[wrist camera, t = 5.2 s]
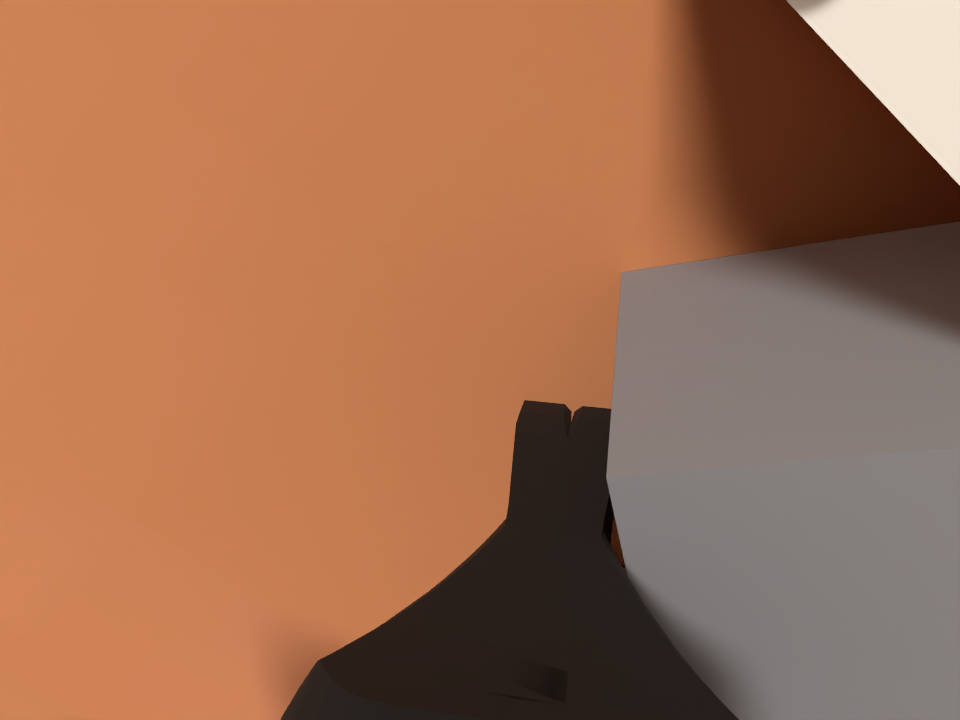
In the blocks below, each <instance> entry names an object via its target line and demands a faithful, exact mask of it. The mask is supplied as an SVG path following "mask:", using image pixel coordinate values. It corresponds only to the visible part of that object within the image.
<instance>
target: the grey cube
mask: <svg viewBox="0 0 960 720" xmlns="http://www.w3.org/2000/svg"><path fill="white" fill-rule="evenodd" d="M606 479H607V483H608V488H609V493H610V497H611V502H612V507H613V511H614V516H615V520H616V525H617V530H618V534H619V539H620V544H621V548H622V553H623V557H624V562H625V567H626V571H627V576H628V579H629V580H630V582H631V583H632V585H633V587H634V588H635V590H636V592H637V593H638V595H639V597H640V598H641V600H642V601H643V603H644V605H645V606H646V607H647V609H648V610H649V612H650V613H651V614H652V616H653V617H654V619H655V620H656V621H657V623H658V624H659V626H660V627H661V628H662V630H663V631H664V633H665V634H666V635H667V637H668V638H669V639H670V641H671V642H672V644H673V645H674V646H675V648H676V649H677V650H678V652H679V653H680V654H681V655H682V657H683V658H684V659H685V660H686V661H687V663H688V664H689V665H690V666H691V667H692V669H693V670H694V671H695V672H696V674H697V675H698V676H699V677H700V678H701V680H702V681H703V682H704V683H705V684H706V685H707V686H708V687H709V688H710V690H711V691H712V692H713V693H714V694H715V695H716V696H717V697H718V698H719V700H720V701H721V702H722V703H723V704H724V705H725V706H726V707H727V708H728V709H729V710H730V711H731V712H732V713H733V714H734V715H735V716H736V717H737V718H738V719H739V720H960V221H958V222H952V223H945V224H938V225H932V226H925V227H918V228H912V229H905V230H899V231H892V232H885V233H879V234H872V235H865V236H859V237H852V238H845V239H839V240H832V241H826V242H819V243H812V244H806V245H799V246H792V247H786V248H779V249H772V250H766V251H759V252H753V253H746V254H739V255H733V256H726V257H719V258H713V259H706V260H699V261H693V262H686V263H680V264H673V265H666V266H660V267H653V268H646V269H640V270H633V271H626V272H622V273H621V286H620V300H619V313H618V327H617V340H616V353H615V367H614V380H613V394H612V407H611V421H610V434H609V447H608V461H607V474H606Z"/></svg>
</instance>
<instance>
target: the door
mask: <svg viewBox="0 0 960 720" xmlns="http://www.w3.org/2000/svg"><path fill="white" fill-rule="evenodd" d="M786 1H787V2H788V3H789V4H790V5H791V6H792V7H793V8H794V9H795V10H796V11H797V13H798V14H799V15H800V16H801V17H802V18H803V19H804V20H805V21H806V22H807V23H808V24H809V25H810V26H811V27H812V29H813V30H814V31H815V32H816V33H817V34H818V35H819V36H820V37H821V38H822V39H823V40H824V41H825V42H826V43H827V44H828V46H829V47H830V48H831V49H832V50H833V51H834V52H835V53H836V54H837V55H838V56H839V57H840V58H841V59H842V60H843V62H844V63H845V64H846V65H847V66H848V67H849V68H850V69H851V70H852V71H853V72H854V73H855V74H856V75H857V76H858V78H859V79H860V80H861V81H862V82H863V83H864V84H865V85H866V86H867V87H868V88H869V89H870V90H871V91H872V92H873V94H874V95H875V96H876V97H877V98H878V99H879V100H880V101H881V102H882V103H883V104H884V105H885V106H886V107H887V108H888V110H889V111H890V112H891V113H892V114H893V115H894V116H895V117H896V118H897V119H898V120H899V121H900V122H901V123H902V124H903V126H904V127H905V128H906V129H907V130H908V131H909V132H910V133H911V134H912V135H913V136H914V137H915V138H916V139H917V140H918V142H919V143H920V144H921V145H922V146H923V147H924V148H925V149H926V150H927V151H928V152H929V153H930V154H931V155H932V156H933V158H934V159H935V160H936V161H937V162H938V163H939V164H940V165H941V166H942V167H943V168H944V169H945V170H946V171H947V172H948V174H949V175H950V176H951V177H952V178H953V179H954V180H955V181H956V182H957V183H958V184H959V185H960V0H786Z"/></svg>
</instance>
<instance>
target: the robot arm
mask: <svg viewBox="0 0 960 720" xmlns="http://www.w3.org/2000/svg"><path fill="white" fill-rule="evenodd" d="M610 421H611V409H606V408H596V407H586V406H582V407H581V408H579V409H578V410H576V411H575V412H574V416H573V419H572V421H571V411H570V410H569V409H568V407H567V406H566V405H565V404H557V403H547V402H537V401H527V400H525V401H524V403H523V406H522V408H521V411H520V414H519V417H518V420H517V423H516V431H515V442H514V452H513V463H512V474H511V485H510V496H509V506H508V512H507V518H506V520H505V521H504V522H503V523H502V524H501V525H500V526H499V527H498V528H497V530H496V531H495V532H494V533H493V534H492V535H491V536H490V537H489V538H488V539H487V540H486V541H485V542H484V543H483V544H482V545H481V546H480V547H479V548H478V549H477V550H476V551H475V552H474V553H473V554H472V555H471V556H470V557H469V558H467V559H466V560H465V561H464V562H463V563H462V564H461V565H460V566H458V567H457V568H456V569H455V570H454V571H453V572H452V573H450V574H449V575H448V576H447V577H446V578H445V579H444V580H442V581H441V582H440V583H439V584H437V585H436V586H435V587H434V588H432V589H431V590H430V591H429V592H427V593H426V594H425V595H423V596H422V597H420V598H419V599H418V600H416V601H415V602H413V603H412V604H410V605H409V606H408V607H406V608H405V609H403V610H402V611H401V612H399V613H398V614H396V615H395V616H394V617H392V618H391V619H389V620H388V621H387V622H385V623H383V624H382V625H380V626H379V627H377V628H376V629H374V630H372V631H371V632H369V633H367V634H365V635H364V636H362V637H360V638H358V639H357V640H355V641H353V642H351V643H350V644H348V645H346V646H344V647H343V648H341V649H339V650H337V651H336V652H334V653H332V654H330V655H328V656H326V657H324V658H322V659H320V660H319V661H317V663H316V664H315V665H314V667H313V668H312V670H311V671H310V672H309V674H308V676H307V677H306V679H305V680H304V682H303V683H302V685H301V686H300V688H299V689H298V691H297V692H296V694H295V696H294V698H293V699H292V701H291V703H290V704H289V706H288V708H287V709H286V711H285V713H284V714H283V716H282V718H281V720H739V719H738V718H737V717H736V716H735V715H734V714H733V713H732V712H731V711H730V710H729V709H728V708H727V707H726V706H725V705H724V704H723V703H722V702H721V701H720V700H719V698H718V697H717V696H716V695H715V694H714V693H713V692H712V691H711V690H710V688H709V687H708V686H707V685H706V684H705V683H704V682H703V681H702V680H701V678H700V677H699V676H698V675H697V674H696V672H695V671H694V670H693V669H692V667H691V666H690V665H689V664H688V663H687V661H686V660H685V659H684V658H683V657H682V655H681V654H680V653H679V652H678V650H677V649H676V648H675V646H674V645H673V644H672V642H671V641H670V639H669V638H668V637H667V635H666V634H665V633H664V631H663V630H662V628H661V627H660V626H659V624H658V623H657V621H656V620H655V619H654V617H653V616H652V614H651V613H650V612H649V610H648V609H647V607H646V606H645V605H644V603H643V601H642V600H641V598H640V597H639V595H638V593H637V592H636V590H635V588H634V587H633V585H632V583H631V582H630V580H629V579H628V577H627V575H626V573H625V572H624V570H623V568H622V566H621V564H620V562H619V561H618V559H617V557H616V555H615V553H614V551H613V549H612V547H611V545H610V543H611V535H612V526H613V517H614V511H613V507H612V502H611V497H610V493H609V488H608V483H607V479H606V474H607V461H608V447H609V434H610Z"/></svg>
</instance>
